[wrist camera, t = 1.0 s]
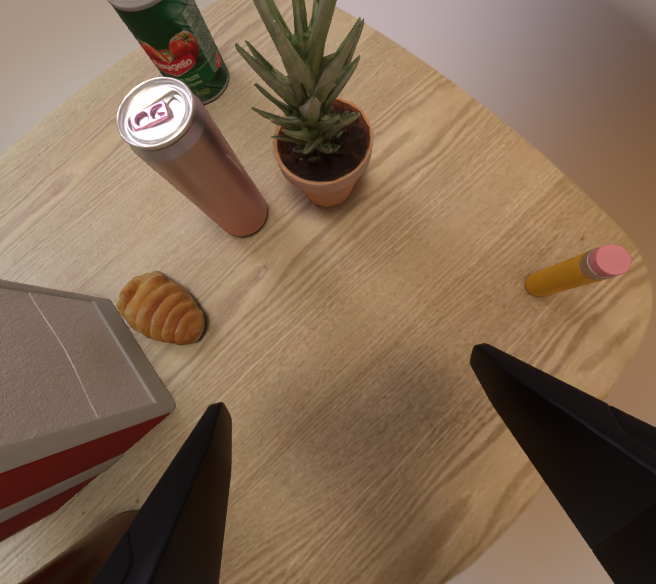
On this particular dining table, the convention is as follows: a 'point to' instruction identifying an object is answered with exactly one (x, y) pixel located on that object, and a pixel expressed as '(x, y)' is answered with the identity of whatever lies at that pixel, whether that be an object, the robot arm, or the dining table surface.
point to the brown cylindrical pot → (84, 555)
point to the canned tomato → (177, 43)
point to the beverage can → (190, 153)
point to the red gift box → (66, 398)
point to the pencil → (580, 270)
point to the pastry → (161, 309)
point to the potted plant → (313, 103)
